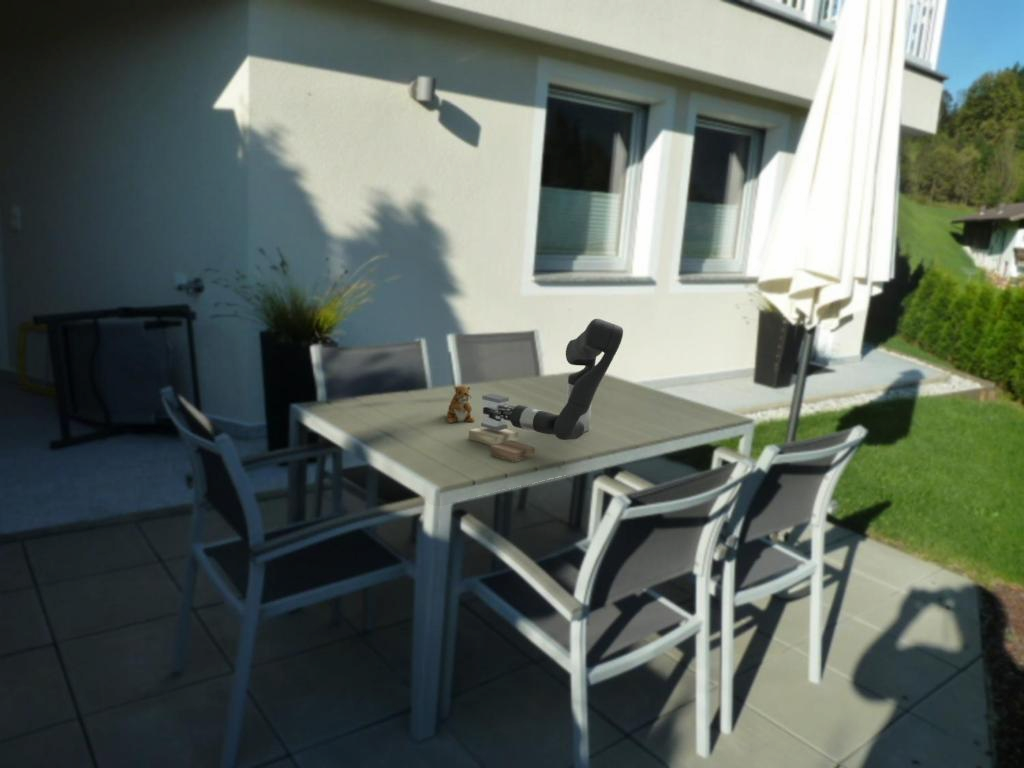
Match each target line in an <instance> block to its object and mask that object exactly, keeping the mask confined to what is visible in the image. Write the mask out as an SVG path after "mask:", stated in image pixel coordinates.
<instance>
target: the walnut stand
mask: <svg viewBox="0 0 1024 768" xmlns="http://www.w3.org/2000/svg"><path fill="white" fill-rule="evenodd" d="M535 448H536V447H535V446H532V445H529V444H525V443H521V442H518V441H512V440H510V441H506V442H503V443H499V444H496V445H493V446H492V445H490V456H492V455H493V457H496V458H499V459H502V458H503V459H502V460H505V459H506V461H508V460H510V461H509V462H512V461H513V462H512V463H517V462H521V461H523V460H526V459H529V458H533V457H534V456H535Z"/></svg>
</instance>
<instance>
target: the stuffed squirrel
mask: <svg viewBox="0 0 1024 768" xmlns="http://www.w3.org/2000/svg"><path fill="white" fill-rule="evenodd" d="M452 388H453V390H454V392H455V393H454V395H453V397H452V398H451V400H450V404H449V406H448V410H447V413H446V420H447V423H449V424H454V423H456V422H459V421H461V422H466V421H467V422H468V423H474V422H475V418H473V417H472V415H471V411H472V405H471V404H470V403H469V402H468V401H469V399H470V400H471V399H472V396H471V395H470V393H469V390H471V387H470V386H468V387H467V386H466V385H459V386H456V385H454V386H452ZM453 422H454V423H453ZM467 422H466V423H467Z"/></svg>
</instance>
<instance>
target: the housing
mask: <svg viewBox="0 0 1024 768" xmlns="http://www.w3.org/2000/svg"><path fill="white" fill-rule="evenodd" d="M481 397H482V398H481V399H482V400H483V408H484V407H487V408H491V409H496V410H497V409H499V408H500V409H506V407H508V402H509V401H510V397H507V396H503V395H499V394H495V393H490V394H485V395H482V396H481ZM501 412H502V411H500V413H501ZM482 413H483V412H482ZM506 422H507V421H505V420H502V419H501V421H496V420H494V419H491V418H489V415H487V414H484V413H483V415H482V422H480V423H481V424H480V427H485V428H489V429H493V430H497V431H499V430H503V429H508V424H507V423H506Z"/></svg>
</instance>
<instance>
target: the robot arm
mask: <svg viewBox="0 0 1024 768" xmlns="http://www.w3.org/2000/svg"><path fill="white" fill-rule="evenodd" d="M623 336H624V328H623V326H620V325H617V324H615V323H611V322H609V321H606V320H603V319H600V318H593V319H592V320H591V321H589V322H588V324H587V326H586V328H585V330H584V331H583V332H581V333H580V334H579V335H578V336H577V337H575V338H574V339H571V340H570V341H568V344H567V346H566V347H565V348H566V349H565V359H566V361H567V363H568V364H569V365H571V366H582V367H583V366H584V368H582V369H581V370H579V371H577V372H572V373H570V374H569V375H568V379H567V387H566V388H567V389H566V390H567V391H566V403H565V406H564V407H563V408H562V410H561V411H560V413H559V414H555V413H551V412H548V411H543V410H540V409H537V408H534V407H529V406H527V405H522V404H518V405H515V406H513V405H507V407H506V409H500V408H499V409H497V410H496V409H491V408H487V407H484V406H483V408H482V413H484V414H487V415H489V418H491V419H494V420H496V421H501V419H502V420H505V421H506V422H510V423H511V425H512V427H515V428H517V429H521V430H526V431H528V432H529V431H530V432H535V433H541V434H544V435H555V437H556V438H557V439H558V440H561V441H570V440H577V439H580V438H581V437H582V436H583V435H584V434H585V433H586V432H589V431H590V426H591V425H590V424H591V412H592V401H593V399H594V396H595V395H596V392H597V389H598V387H599V385H600V384H601V381H602V380H603V378H604V377H605V375H606V372H607V370H608V369H609V367H610V365H611V364H612V362H613V359H614V357H615V355H616V353H617V352H618V350H619V348H620V347H621V346H620V345H621V343H622V340H623ZM602 353H603V355H602V356H601V359H599V361H598V362H597V363H596V360H597V357H598V356H600V355H601V354H602ZM500 411H502V412H501V413H500Z"/></svg>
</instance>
